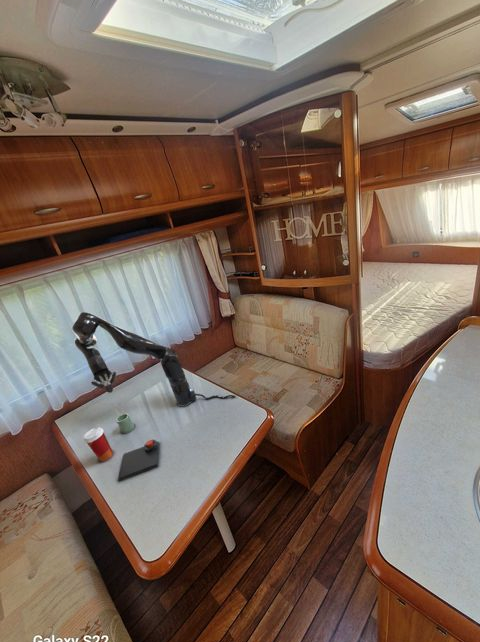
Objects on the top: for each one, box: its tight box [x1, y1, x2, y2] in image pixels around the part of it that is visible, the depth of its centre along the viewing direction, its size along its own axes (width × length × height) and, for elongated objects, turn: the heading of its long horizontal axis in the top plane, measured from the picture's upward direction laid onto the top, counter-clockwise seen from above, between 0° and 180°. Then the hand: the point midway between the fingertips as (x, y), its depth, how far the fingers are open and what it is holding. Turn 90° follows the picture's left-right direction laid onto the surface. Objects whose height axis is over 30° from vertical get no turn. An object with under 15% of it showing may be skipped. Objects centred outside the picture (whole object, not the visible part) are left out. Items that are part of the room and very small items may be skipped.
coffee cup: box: [83, 426, 114, 462], centre depth 126 cm, size 8×8×15 cm
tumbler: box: [115, 413, 135, 434], centre depth 144 cm, size 6×6×8 cm
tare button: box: [145, 439, 154, 448], centre depth 126 cm, size 3×3×2 cm
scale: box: [117, 439, 160, 482], centre depth 122 cm, size 16×14×4 cm
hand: (110, 392), depth 144 cm, fingers closed
